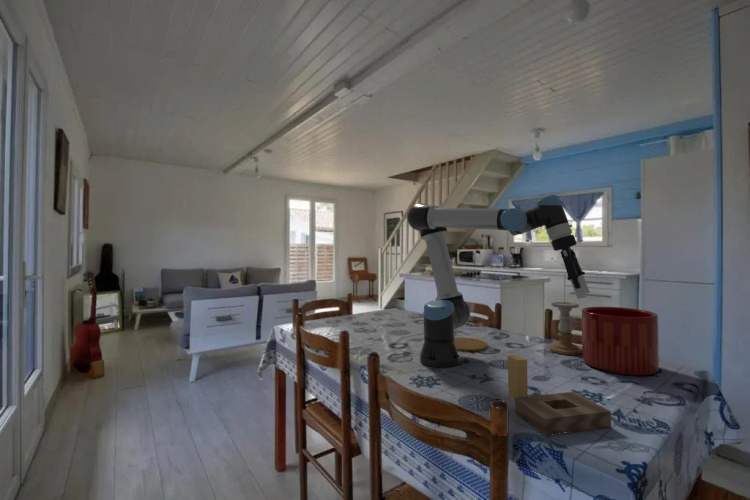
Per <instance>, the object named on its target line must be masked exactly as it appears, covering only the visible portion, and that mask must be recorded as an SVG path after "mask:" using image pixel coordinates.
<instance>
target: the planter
mask: <svg viewBox="0 0 750 500" xmlns="http://www.w3.org/2000/svg"><path fill="white" fill-rule="evenodd" d="M659 341H660V340H659V315H658V314H657V313H655V312H653V311H649V310H645V309H638V308H630V307H622V306H621V307H620V306H619V307H618V306H588V307H584V308H582V309H581V349H582V354H581V355H582V357H581V358H582V360H583V361H584V363H586V364H587V365H588V366H590V367H592V368H594V369H597V370H599V371H601V372H602V371H603V372H606V373H611V374H614V375H615V374H616V375H622V376H630V377H631V376H634V377H636V376H637V377H638V376H639V377H642V376H643V377H644V376H649V375H653V374H655V373H657V372H659V370H660V354H659V352H660V351H659V350H660V349H659V347H660V345H659V344H660V343H659Z"/></svg>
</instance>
